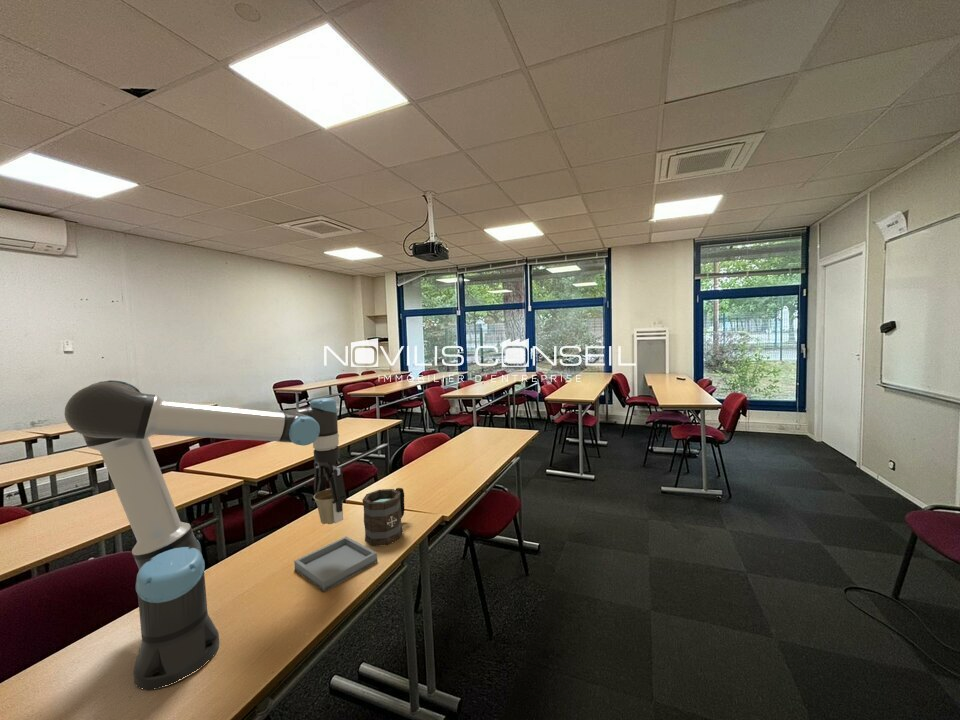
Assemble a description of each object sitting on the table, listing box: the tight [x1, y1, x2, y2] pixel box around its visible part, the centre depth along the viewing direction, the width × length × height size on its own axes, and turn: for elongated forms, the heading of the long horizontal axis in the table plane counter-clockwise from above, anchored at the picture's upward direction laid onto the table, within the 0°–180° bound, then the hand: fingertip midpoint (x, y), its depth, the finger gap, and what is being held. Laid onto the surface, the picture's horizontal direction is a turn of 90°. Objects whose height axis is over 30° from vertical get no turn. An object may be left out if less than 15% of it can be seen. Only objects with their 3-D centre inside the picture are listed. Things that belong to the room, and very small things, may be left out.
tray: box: [293, 536, 378, 593], centre depth 120 cm, size 18×18×3 cm
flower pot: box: [313, 488, 344, 525], centre depth 120 cm, size 9×9×9 cm
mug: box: [361, 487, 405, 547], centre depth 140 cm, size 20×14×15 cm
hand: (331, 517), depth 120 cm, fingers closed on flower pot, 9 cm apart
